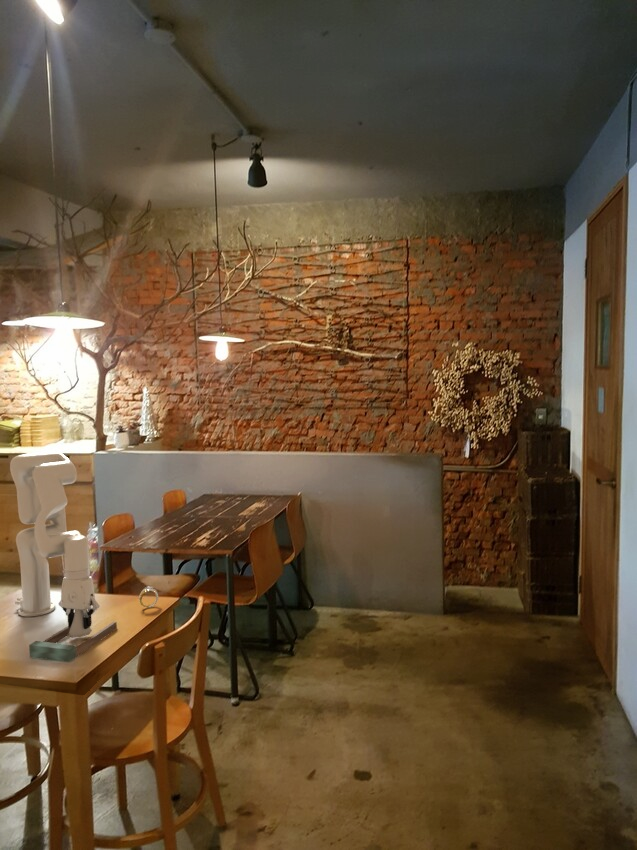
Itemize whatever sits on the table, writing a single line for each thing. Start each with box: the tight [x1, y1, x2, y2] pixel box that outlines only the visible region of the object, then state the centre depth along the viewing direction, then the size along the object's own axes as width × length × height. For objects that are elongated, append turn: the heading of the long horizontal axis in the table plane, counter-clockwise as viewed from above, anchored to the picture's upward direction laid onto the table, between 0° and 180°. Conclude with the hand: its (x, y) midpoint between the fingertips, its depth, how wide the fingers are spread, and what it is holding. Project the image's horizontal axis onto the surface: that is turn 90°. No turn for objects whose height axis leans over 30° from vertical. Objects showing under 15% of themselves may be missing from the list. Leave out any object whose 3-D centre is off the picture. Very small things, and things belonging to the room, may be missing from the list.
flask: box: [68, 609, 93, 638], centre depth 199 cm, size 7×7×10 cm
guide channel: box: [28, 621, 118, 663], centre depth 197 cm, size 14×25×4 cm, turn 165°
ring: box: [138, 585, 159, 609], centre depth 226 cm, size 7×3×8 cm, turn 116°
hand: (79, 626), depth 199 cm, fingers closed on flask, 5 cm apart
